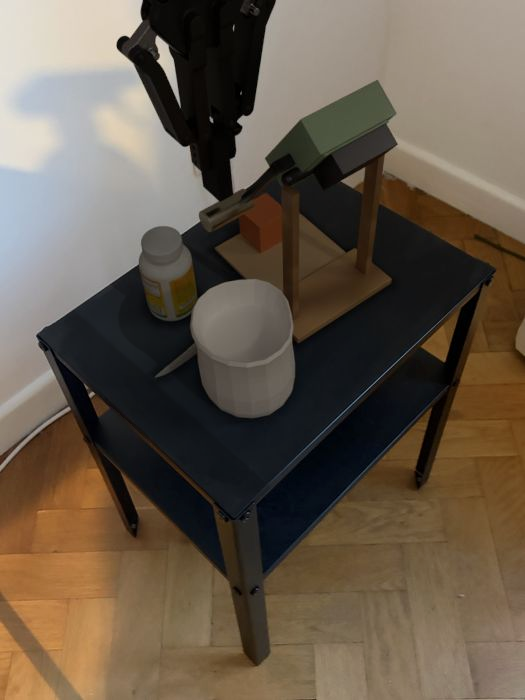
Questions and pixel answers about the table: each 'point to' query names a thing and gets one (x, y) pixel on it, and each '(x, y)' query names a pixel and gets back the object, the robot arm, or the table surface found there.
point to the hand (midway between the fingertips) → (218, 190)
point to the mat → (280, 255)
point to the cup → (245, 346)
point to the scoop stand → (331, 264)
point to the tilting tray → (319, 150)
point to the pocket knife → (179, 360)
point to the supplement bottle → (167, 274)
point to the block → (262, 223)
